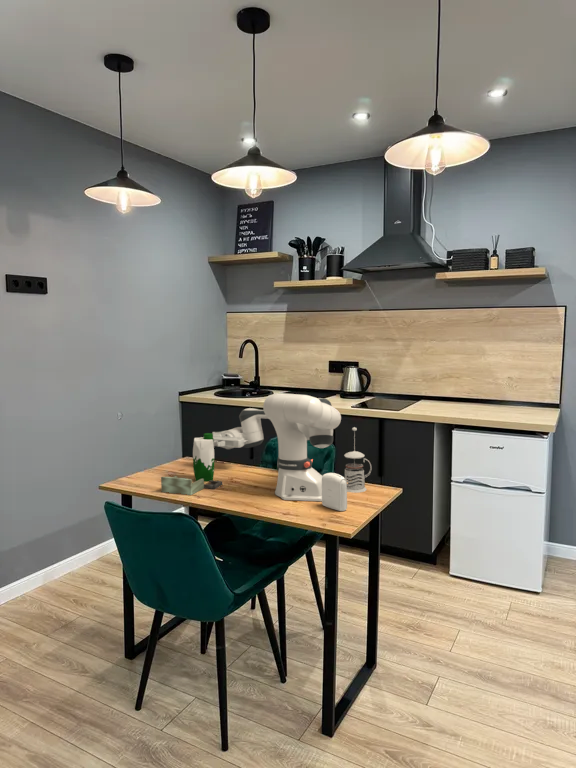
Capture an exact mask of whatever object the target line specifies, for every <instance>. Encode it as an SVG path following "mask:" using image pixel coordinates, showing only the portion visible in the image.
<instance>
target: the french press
mask: <svg viewBox="0 0 576 768" xmlns="http://www.w3.org/2000/svg"><path fill="white" fill-rule="evenodd" d="M357 430H358V429H357V427H355V426H354V427H352V428H351V431H353V433H354V436H353V439H354V441H353V442H354V443H353V445H354V446H353V449H354V450H353V451H349V452H346V453H345V454H344V455H343V456H344V458H346V459H353V463H351V462H350V463H346V464H345V468H344V478H345V479H346V481H347V493H352V494H353V493H365V492H366V491H367V488H366V486H365V485H366V484H365V483H366V481H365V478H367V477H368V476H370V475H371V474H372V473H371V472H372V469H373V468H372V464H371V462H370V460H368V459H367V458H366V457H365V454H364V453H362V452H360V451H356V446H355V445H356V438H355V437H356V431H357ZM356 459H357V460H358V459H362V460H363V463H365V462H366V461H367V463H369V467H370V469H369V471H368V473H367V474H365V470H364V469H365V468H363V467H364V464H362V463H357V462H355V460H356Z"/></svg>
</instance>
